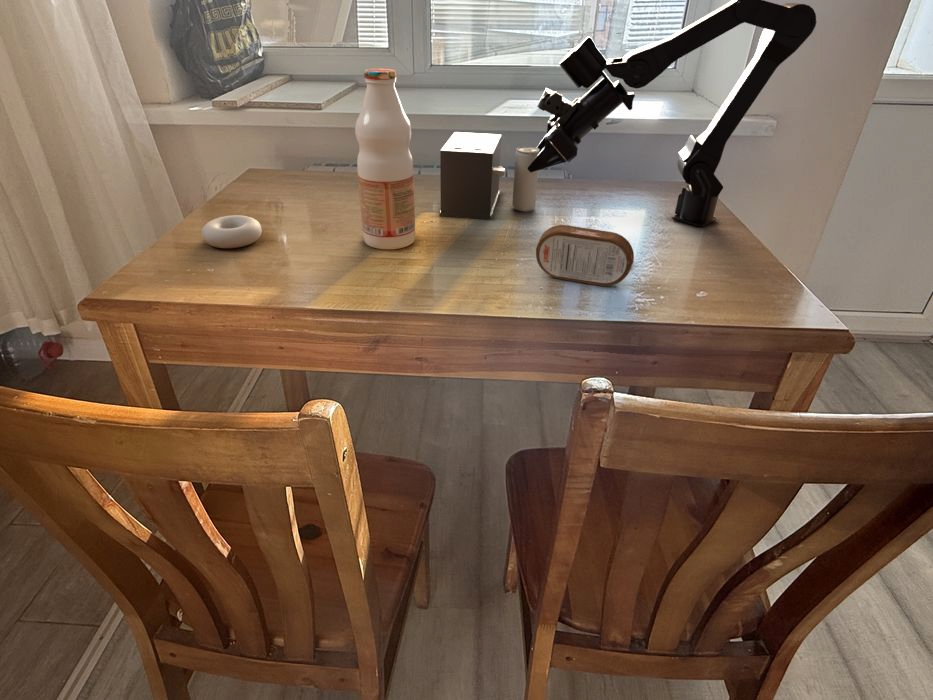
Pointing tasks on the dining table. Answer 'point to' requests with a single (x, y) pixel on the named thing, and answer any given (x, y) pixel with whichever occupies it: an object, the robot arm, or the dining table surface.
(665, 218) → the dining table surface
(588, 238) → the tin
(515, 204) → the beverage can
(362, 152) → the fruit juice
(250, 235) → the donut
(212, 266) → the dining table surface
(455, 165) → the toaster
